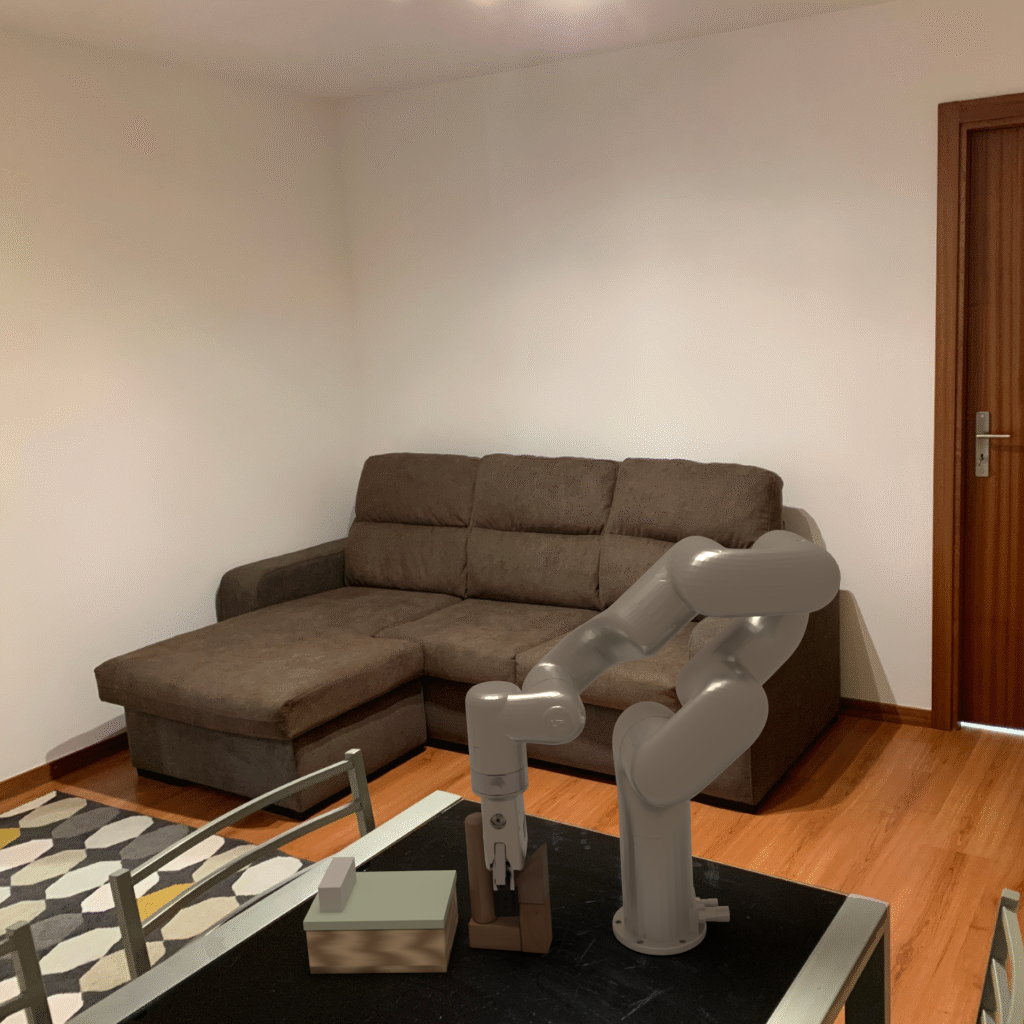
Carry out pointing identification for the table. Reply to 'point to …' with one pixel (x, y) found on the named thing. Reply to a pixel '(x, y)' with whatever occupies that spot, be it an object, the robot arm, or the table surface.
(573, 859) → the table surface
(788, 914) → the table surface
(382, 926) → the lid
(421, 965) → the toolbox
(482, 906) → the wooden pieces
